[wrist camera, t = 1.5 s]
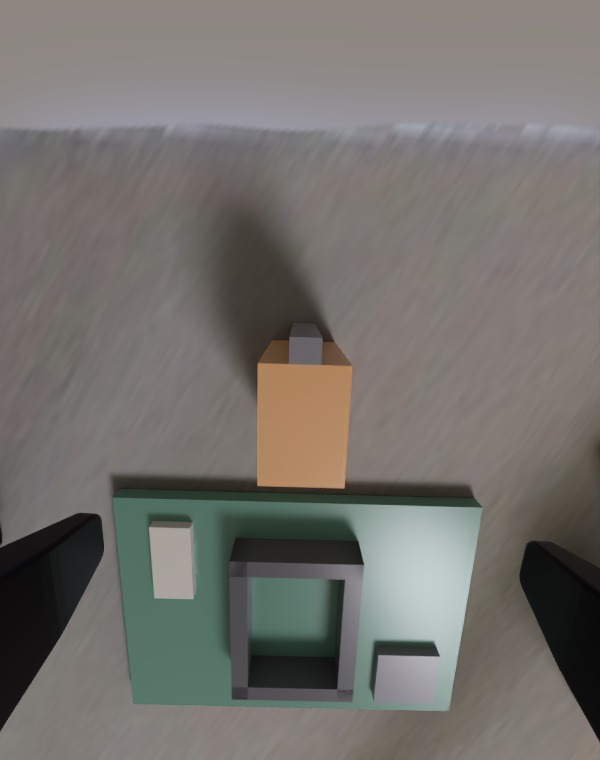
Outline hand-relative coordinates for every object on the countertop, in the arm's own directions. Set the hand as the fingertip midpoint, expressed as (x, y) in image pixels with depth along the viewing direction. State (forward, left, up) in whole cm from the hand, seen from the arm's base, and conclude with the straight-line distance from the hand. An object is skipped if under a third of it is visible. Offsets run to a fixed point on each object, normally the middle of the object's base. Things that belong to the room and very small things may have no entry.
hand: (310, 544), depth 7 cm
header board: (0, -15, -13) cm, 20 cm away
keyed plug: (0, 0, -13) cm, 13 cm away
